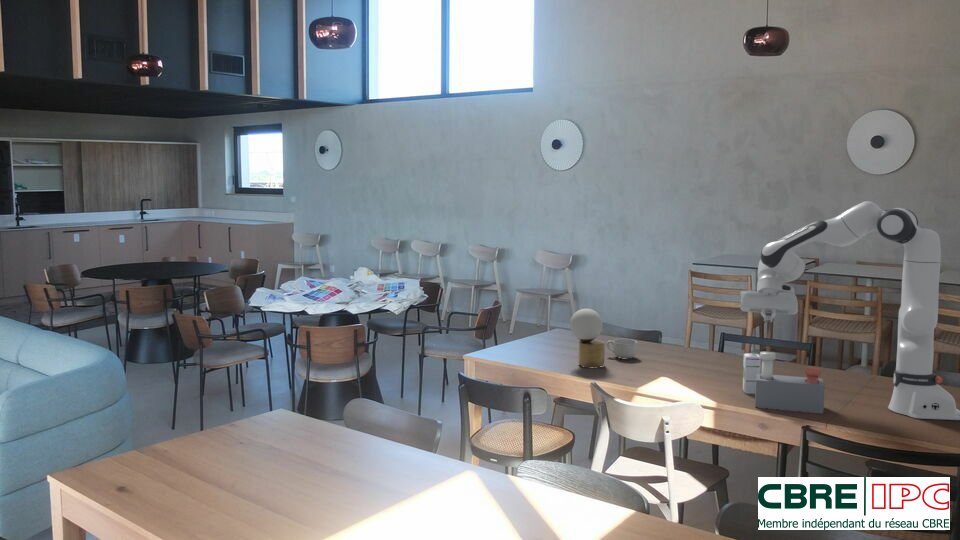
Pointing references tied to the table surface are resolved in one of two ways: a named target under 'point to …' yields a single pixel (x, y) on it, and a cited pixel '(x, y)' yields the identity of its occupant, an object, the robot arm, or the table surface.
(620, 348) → the teacup
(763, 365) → the grey bulb-shaped piece
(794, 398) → the block
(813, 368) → the red plug
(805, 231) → the robot arm
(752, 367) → the syrup box
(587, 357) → the lamp
